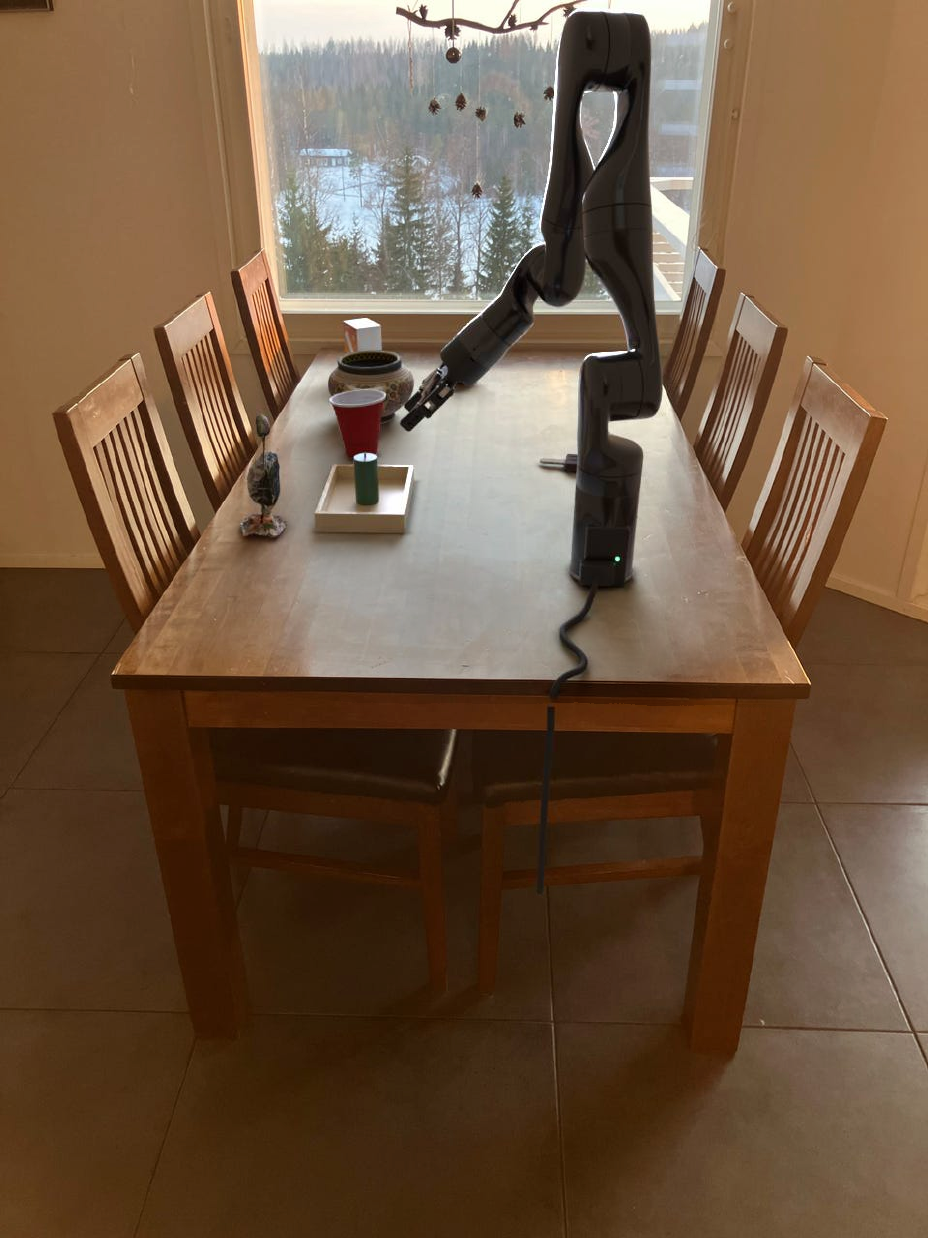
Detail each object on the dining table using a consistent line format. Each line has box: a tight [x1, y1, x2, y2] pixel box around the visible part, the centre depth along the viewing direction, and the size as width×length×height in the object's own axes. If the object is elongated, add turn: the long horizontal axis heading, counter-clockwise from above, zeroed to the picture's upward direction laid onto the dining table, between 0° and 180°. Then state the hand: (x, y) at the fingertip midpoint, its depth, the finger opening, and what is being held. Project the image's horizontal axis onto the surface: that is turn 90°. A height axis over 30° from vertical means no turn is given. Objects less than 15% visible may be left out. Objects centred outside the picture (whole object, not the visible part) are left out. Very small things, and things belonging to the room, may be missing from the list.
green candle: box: [352, 453, 379, 505], centre depth 167 cm, size 4×4×9 cm
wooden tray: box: [314, 463, 415, 534], centre depth 169 cm, size 22×15×3 cm
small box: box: [343, 317, 383, 354], centre depth 231 cm, size 8×6×13 cm
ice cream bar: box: [539, 453, 578, 473], centre depth 185 cm, size 5×2×15 cm
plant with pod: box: [239, 413, 288, 538], centre depth 157 cm, size 8×11×20 cm
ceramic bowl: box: [327, 349, 415, 425], centre depth 206 cm, size 24×18×15 cm
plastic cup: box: [328, 389, 386, 461], centre depth 188 cm, size 11×11×12 cm
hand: (405, 418), depth 162 cm, fingers open, 8 cm apart
